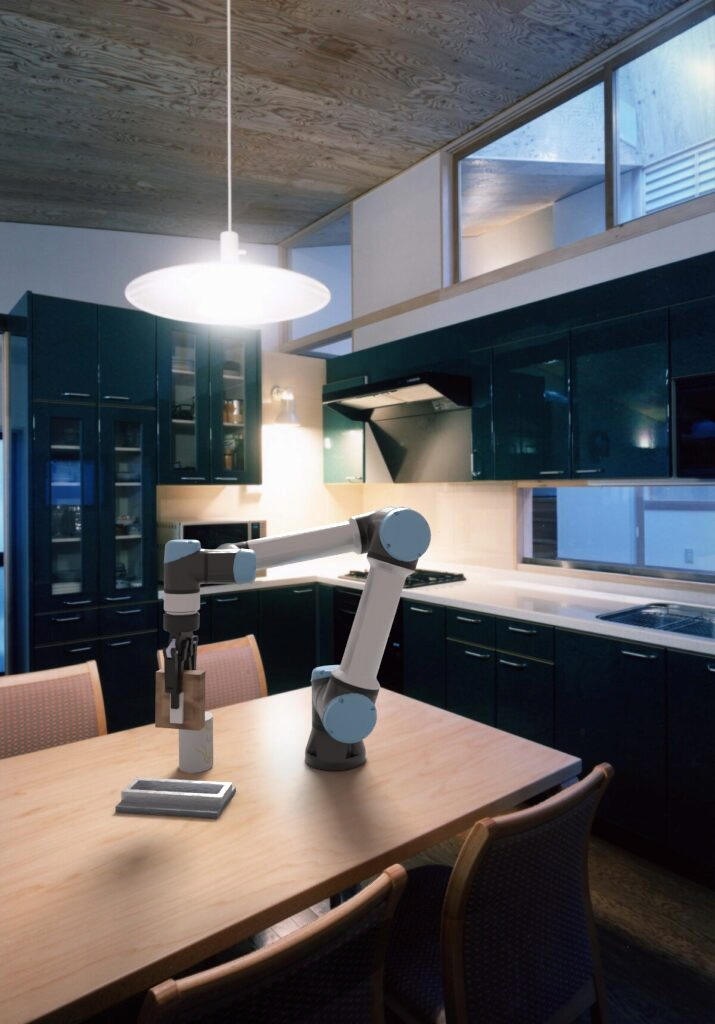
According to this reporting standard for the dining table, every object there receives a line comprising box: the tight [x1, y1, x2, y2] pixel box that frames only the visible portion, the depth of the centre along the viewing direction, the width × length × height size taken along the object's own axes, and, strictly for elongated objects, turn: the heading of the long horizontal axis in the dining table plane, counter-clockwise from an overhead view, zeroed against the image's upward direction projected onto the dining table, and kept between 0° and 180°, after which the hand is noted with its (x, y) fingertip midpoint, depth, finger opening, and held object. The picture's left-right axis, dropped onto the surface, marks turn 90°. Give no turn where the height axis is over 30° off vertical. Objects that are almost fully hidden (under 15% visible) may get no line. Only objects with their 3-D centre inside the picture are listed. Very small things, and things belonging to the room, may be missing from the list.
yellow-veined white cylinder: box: [178, 710, 214, 774], centre depth 159 cm, size 8×8×12 cm
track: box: [114, 777, 237, 820], centre depth 140 cm, size 22×12×3 cm, turn 83°
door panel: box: [154, 667, 206, 731], centre depth 141 cm, size 10×3×12 cm, turn 81°
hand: (180, 719), depth 141 cm, fingers closed on door panel, 3 cm apart
